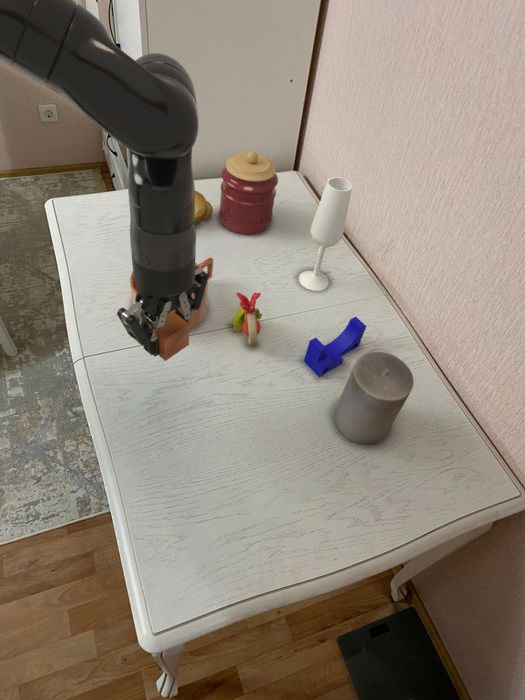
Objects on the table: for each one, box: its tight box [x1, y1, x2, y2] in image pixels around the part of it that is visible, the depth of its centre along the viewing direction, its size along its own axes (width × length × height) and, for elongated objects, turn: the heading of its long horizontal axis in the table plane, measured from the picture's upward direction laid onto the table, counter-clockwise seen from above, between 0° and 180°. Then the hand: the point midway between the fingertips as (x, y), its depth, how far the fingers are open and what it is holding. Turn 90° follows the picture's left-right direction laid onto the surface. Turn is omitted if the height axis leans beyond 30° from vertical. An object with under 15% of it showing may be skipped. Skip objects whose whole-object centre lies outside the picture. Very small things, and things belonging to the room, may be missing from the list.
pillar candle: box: [333, 350, 415, 446], centre depth 83 cm, size 10×10×15 cm
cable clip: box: [303, 316, 367, 378], centre depth 96 cm, size 12×4×6 cm, turn 128°
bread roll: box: [194, 190, 214, 227], centre depth 117 cm, size 13×10×8 cm
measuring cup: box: [129, 257, 214, 331], centre depth 99 cm, size 19×14×8 cm
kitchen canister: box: [218, 150, 279, 236], centre depth 117 cm, size 13×13×18 cm
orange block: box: [149, 311, 190, 362], centre depth 71 cm, size 4×4×4 cm
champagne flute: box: [298, 176, 353, 292], centre depth 103 cm, size 7×7×24 cm
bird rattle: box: [230, 292, 263, 347], centre depth 95 cm, size 6×11×9 cm
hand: (166, 342), depth 72 cm, fingers closed on orange block, 4 cm apart
